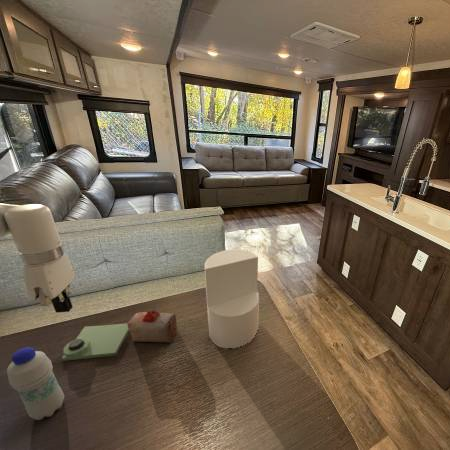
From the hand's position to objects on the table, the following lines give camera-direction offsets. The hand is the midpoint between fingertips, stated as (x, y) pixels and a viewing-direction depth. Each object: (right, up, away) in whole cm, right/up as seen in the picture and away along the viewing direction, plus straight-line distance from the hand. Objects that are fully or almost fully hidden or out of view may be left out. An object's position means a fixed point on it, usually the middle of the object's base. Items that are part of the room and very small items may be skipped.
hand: (64, 310), depth 69 cm
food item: (+17, -14, +15) cm, 26 cm away
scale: (+1, -14, +10) cm, 18 cm away
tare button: (-1, -13, +5) cm, 14 cm away
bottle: (+4, -22, -8) cm, 24 cm away
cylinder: (+42, -14, +21) cm, 49 cm away
